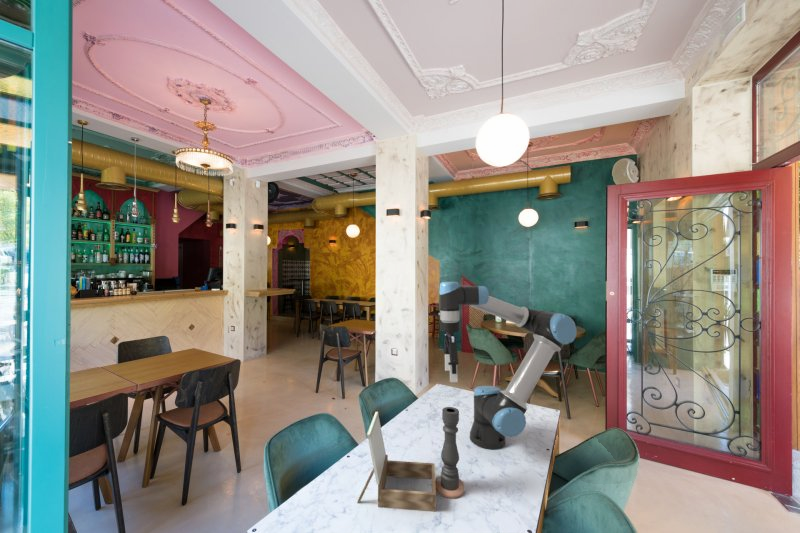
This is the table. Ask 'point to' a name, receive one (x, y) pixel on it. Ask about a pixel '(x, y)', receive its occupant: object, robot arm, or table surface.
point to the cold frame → (404, 497)
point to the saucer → (447, 493)
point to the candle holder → (450, 449)
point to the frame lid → (376, 446)
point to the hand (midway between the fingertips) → (451, 375)
